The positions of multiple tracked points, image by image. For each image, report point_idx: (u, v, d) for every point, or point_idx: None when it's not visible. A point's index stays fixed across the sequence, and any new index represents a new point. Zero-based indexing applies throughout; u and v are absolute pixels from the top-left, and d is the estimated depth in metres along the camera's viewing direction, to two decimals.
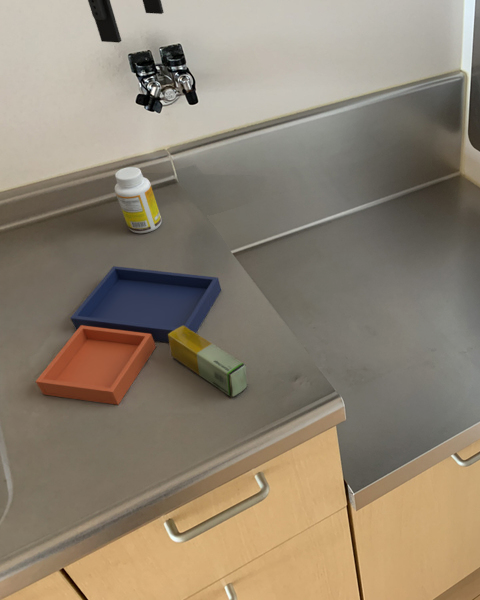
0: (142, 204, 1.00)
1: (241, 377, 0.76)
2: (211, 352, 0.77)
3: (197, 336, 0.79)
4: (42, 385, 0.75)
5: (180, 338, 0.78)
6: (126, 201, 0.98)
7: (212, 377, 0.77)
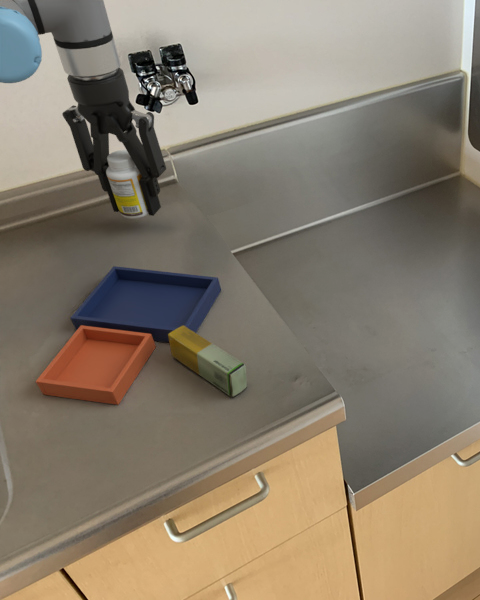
0: (135, 188, 0.97)
1: (241, 377, 0.76)
2: (211, 352, 0.77)
3: (197, 336, 0.79)
4: (42, 385, 0.75)
5: (180, 338, 0.78)
6: (118, 184, 0.96)
7: (212, 377, 0.77)
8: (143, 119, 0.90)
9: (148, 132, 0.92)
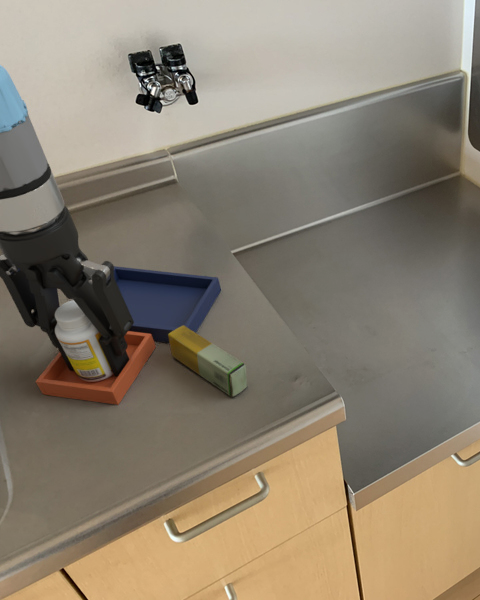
0: (93, 350, 0.74)
1: (241, 377, 0.76)
2: (211, 352, 0.77)
3: (197, 336, 0.79)
4: (42, 385, 0.75)
5: (180, 337, 0.78)
6: (70, 347, 0.73)
7: (212, 377, 0.77)
8: (98, 275, 0.67)
9: (106, 287, 0.69)
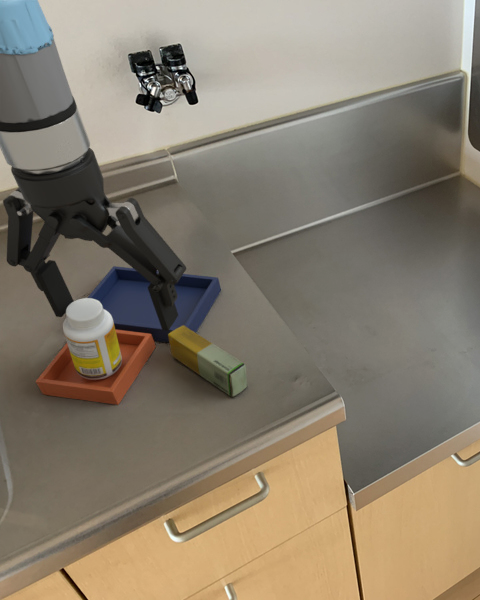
0: (99, 350, 0.74)
1: (241, 377, 0.76)
2: (211, 352, 0.77)
3: (197, 336, 0.79)
4: (42, 385, 0.75)
5: (180, 337, 0.78)
6: (77, 346, 0.73)
7: (212, 377, 0.77)
8: (120, 210, 0.61)
9: (136, 226, 0.63)
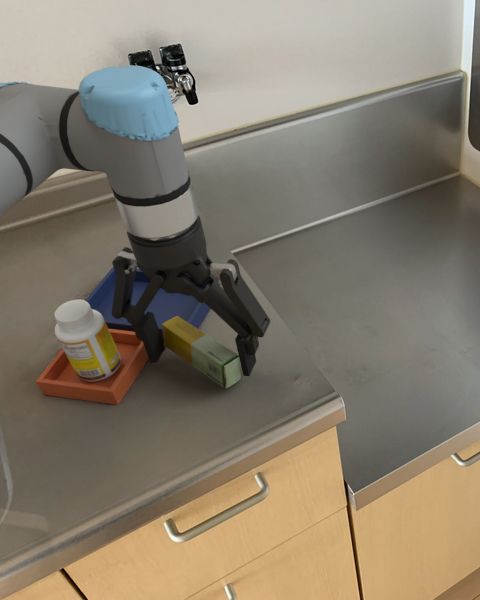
0: (93, 350, 0.74)
1: (235, 368, 0.75)
2: (205, 343, 0.76)
3: (191, 327, 0.78)
4: (42, 385, 0.75)
5: (174, 328, 0.78)
6: (70, 347, 0.73)
7: (206, 368, 0.76)
8: (224, 273, 0.66)
9: (235, 286, 0.68)
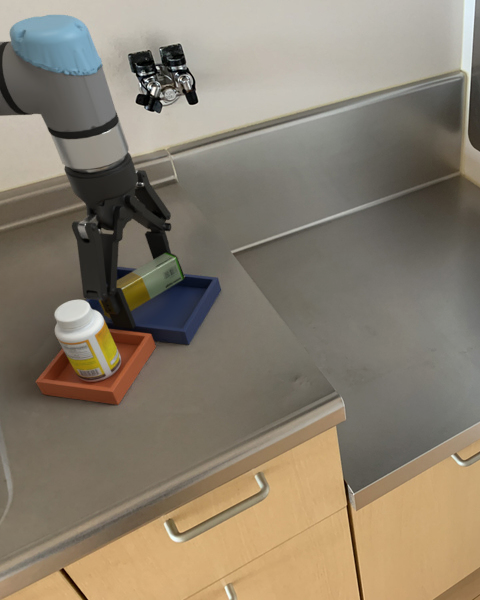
0: (93, 350, 0.74)
1: None
2: (144, 269, 0.85)
3: (117, 281, 0.83)
4: (42, 385, 0.75)
5: None
6: (70, 347, 0.73)
7: (163, 282, 0.87)
8: (142, 171, 0.81)
9: None
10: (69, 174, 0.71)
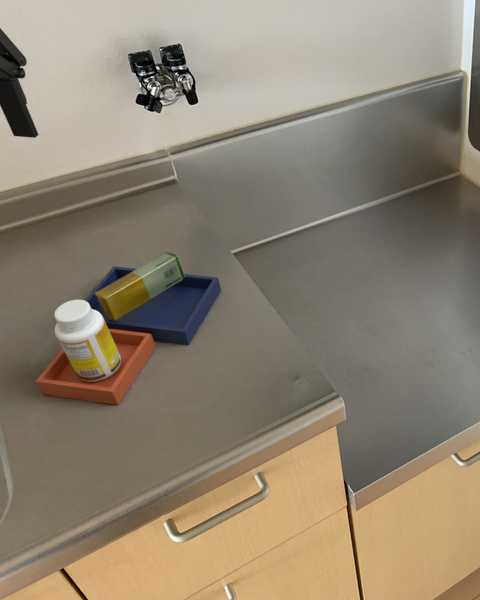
0: (93, 350, 0.74)
1: None
2: (144, 269, 0.85)
3: (117, 281, 0.83)
4: (42, 385, 0.75)
5: (115, 289, 0.82)
6: (70, 347, 0.73)
7: (163, 282, 0.87)
8: None
9: None
10: None
